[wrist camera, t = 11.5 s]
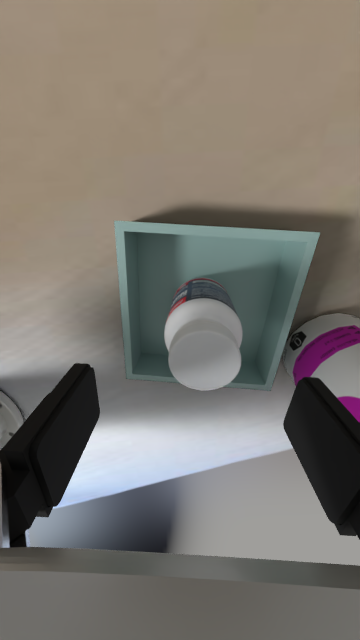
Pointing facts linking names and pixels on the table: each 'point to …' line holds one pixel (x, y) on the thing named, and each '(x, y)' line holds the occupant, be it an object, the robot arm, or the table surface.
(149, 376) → the bin
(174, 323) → the pill bottle
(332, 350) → the supplement can
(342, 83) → the table surface
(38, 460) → the robot arm
